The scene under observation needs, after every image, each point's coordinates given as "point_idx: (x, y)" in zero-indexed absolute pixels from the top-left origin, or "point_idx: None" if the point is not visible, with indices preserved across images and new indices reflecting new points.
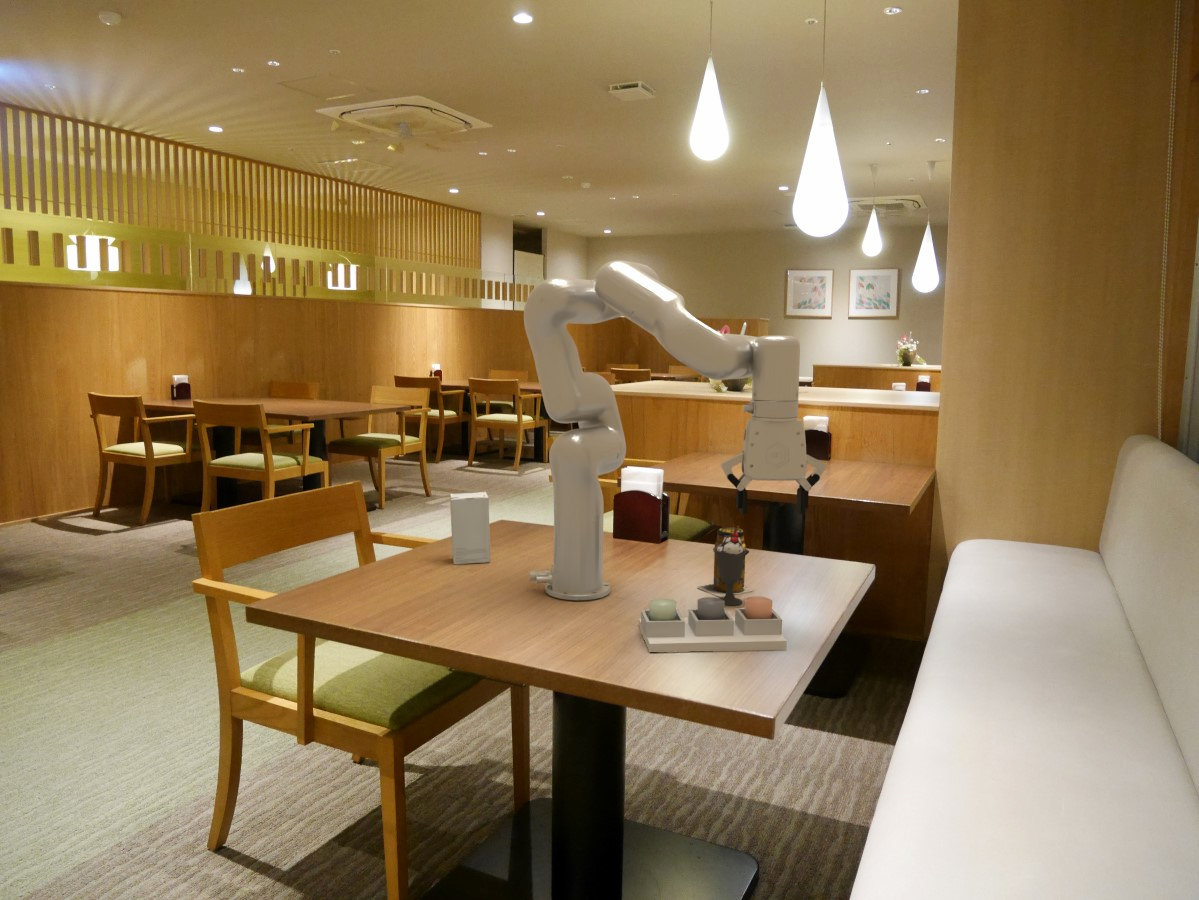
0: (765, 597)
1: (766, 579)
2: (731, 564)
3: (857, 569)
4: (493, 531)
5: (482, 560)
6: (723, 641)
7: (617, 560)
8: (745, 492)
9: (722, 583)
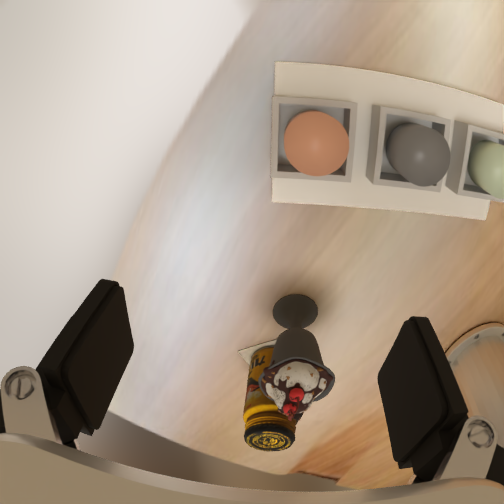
0: (292, 165)
1: (204, 384)
2: (304, 348)
3: None
4: None
5: None
6: (399, 78)
7: (372, 440)
8: (455, 405)
9: None
